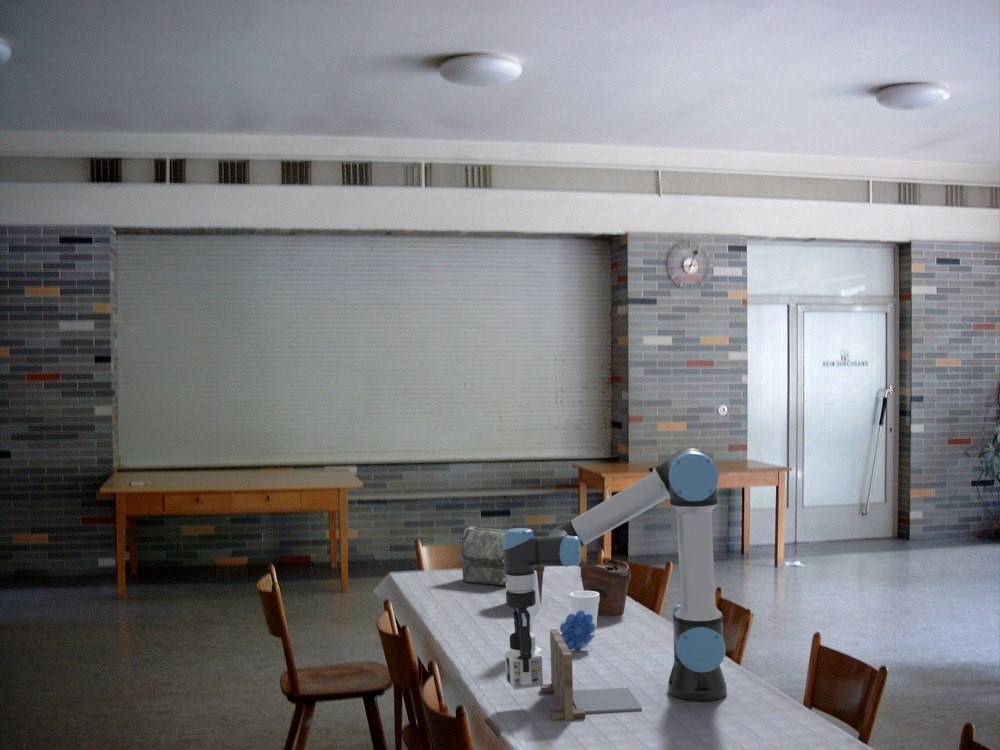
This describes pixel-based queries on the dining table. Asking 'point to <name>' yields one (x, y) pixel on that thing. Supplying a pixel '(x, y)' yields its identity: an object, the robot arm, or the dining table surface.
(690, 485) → the robot arm
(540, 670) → the container
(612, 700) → the mat
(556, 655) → the screen
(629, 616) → the dining table surface
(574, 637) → the grapes
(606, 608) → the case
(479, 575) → the lunch bag
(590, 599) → the foam cup
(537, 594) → the champagne flute
